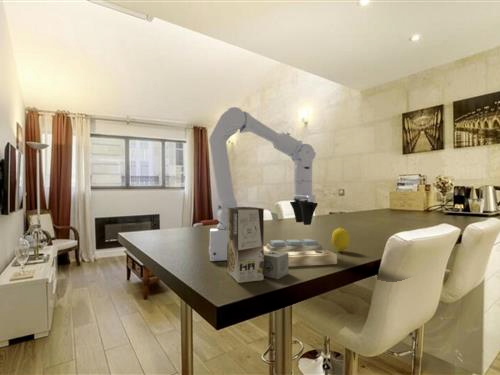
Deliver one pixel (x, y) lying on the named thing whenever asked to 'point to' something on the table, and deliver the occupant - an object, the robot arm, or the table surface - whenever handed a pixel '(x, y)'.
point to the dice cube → (275, 264)
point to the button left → (278, 243)
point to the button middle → (293, 243)
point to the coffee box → (245, 243)
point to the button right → (309, 242)
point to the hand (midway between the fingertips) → (303, 223)
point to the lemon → (340, 239)
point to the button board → (305, 255)
